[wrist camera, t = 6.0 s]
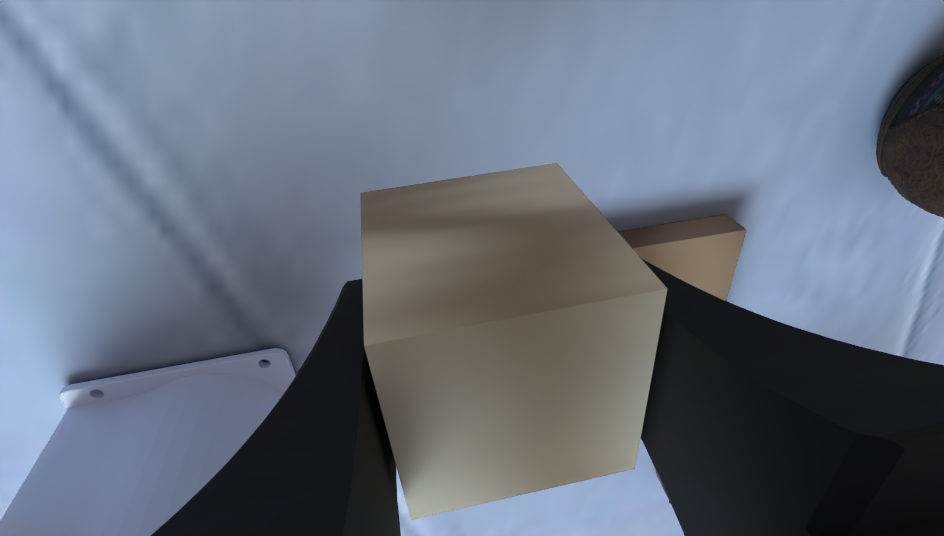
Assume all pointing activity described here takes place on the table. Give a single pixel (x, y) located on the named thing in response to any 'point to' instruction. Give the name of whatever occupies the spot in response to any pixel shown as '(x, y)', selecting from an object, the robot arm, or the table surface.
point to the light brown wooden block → (692, 250)
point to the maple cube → (504, 335)
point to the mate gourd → (916, 139)
